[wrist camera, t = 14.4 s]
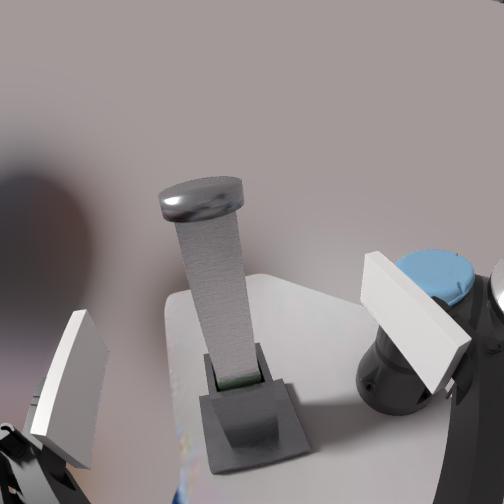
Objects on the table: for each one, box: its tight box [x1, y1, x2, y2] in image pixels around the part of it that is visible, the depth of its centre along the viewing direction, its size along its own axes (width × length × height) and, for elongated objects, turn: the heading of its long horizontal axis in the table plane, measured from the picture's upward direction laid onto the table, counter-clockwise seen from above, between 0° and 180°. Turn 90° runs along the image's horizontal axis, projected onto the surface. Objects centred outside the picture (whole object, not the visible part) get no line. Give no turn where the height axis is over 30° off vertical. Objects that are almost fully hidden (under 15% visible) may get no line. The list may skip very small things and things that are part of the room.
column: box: [158, 176, 261, 392], centre depth 27 cm, size 6×6×28 cm
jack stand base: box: [199, 343, 310, 474], centre depth 34 cm, size 14×14×16 cm
